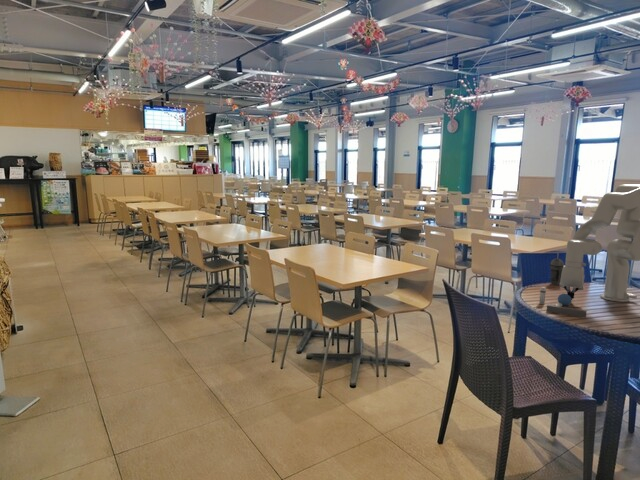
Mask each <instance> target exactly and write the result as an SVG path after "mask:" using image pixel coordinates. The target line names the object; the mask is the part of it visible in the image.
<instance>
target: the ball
mask: <svg viewBox="0 0 640 480" xmlns="http://www.w3.org/2000/svg"><path fill="white" fill-rule="evenodd" d="M557 303H561V304H562V307H566V306H569V305H570V304H571V303H572V300H571V297H570V296H569V295H568V294H567V293H561V294H559V295H558V297H557Z"/></svg>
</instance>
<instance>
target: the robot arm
mask: <svg viewBox="0 0 640 480" xmlns="http://www.w3.org/2000/svg"><path fill="white" fill-rule="evenodd" d="M618 211H621V213H620V215H619V219H618V222H617V226H616V229H615V233H616V234H617V236H619V237H622V238H627V239H632V241H631V240H627V239H621V238H619V239H618V238H616V239H612V240H610V241H609V242H608V243H607V247H606V254H607V267H606V274H605V275H606V276H605V283H604V284H605V285H604V293H601V294H600V295H599V297H600V298H601V299H603V300H606V301H610V302H611V301H612V302H617V303H626V302H630V299H635V300H637V299H638V295H637V294H634V293H633V294H632V293H629V292H628V282H629V275H630V263H629V261H634V262H640V184H634V183H633V184H630V183H628V184H626V183H625V184H624V183H623V184H620V185H618V186H617V187H616V188H615V192H607V193H605V194H603V196H602V197H601V200H600V201H599V204H598V206H597V207H596V209H595V211H594V213H593V216H592V217H591V218H590V219H589V220H587V221H586V222H584V223H583V224H582V225H581V226H579V228H578V229H577V230H576V231H575V232H574V235H573V237H572V239H569V240H568V241H567V242H566V252H565V261H564V263H565V264H564V266H563V270H562V274H561V280H560V285H558V286H559V287H560V288H563V289H564V290H565V291H566V292H567V293H566V294H568V295H569V296H570V297H571V301H573V300H574V299H575V293H576V292H578V291H583V290H584V284H585V268H584V267H586V266H587V263H585V262H584V255H588V256H596V255H598V254H600V253H601V252H602V248H603V247H602V244H601V243H600V242H599V241H598V240H594V239H588V236H589V235H590V234H591V233H593V232H595V231H597V230H600V229H604V228H606V227H609V226H610V225H611V223H612V222H613V220H614V218H615V216H616V214H617V212H618ZM571 288H572V290H571Z"/></svg>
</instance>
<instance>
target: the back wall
mask: <svg viewBox="0 0 640 480" xmlns="http://www.w3.org/2000/svg"><path fill="white" fill-rule="evenodd" d="M554 305H555V304H547V305H546V313H554V314H559V315H564V316H570V317H571V316H572V317H575V318H582V319H586V318H587V311H588V310H583V309H578V308H571V307H566V306H562V307H560V306H554Z"/></svg>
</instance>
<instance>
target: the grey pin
mask: <svg viewBox="0 0 640 480" xmlns="http://www.w3.org/2000/svg"><path fill="white" fill-rule="evenodd" d="M546 290H547V287H545V286H541V287H540V291H539V302H538V304H539V305H541V304H543V305H545V303H546V294H547V293H546ZM543 305H542V306H543Z"/></svg>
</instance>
